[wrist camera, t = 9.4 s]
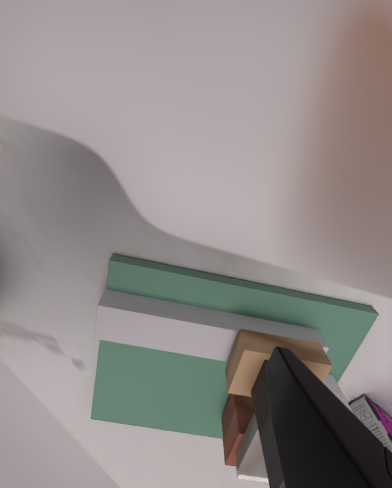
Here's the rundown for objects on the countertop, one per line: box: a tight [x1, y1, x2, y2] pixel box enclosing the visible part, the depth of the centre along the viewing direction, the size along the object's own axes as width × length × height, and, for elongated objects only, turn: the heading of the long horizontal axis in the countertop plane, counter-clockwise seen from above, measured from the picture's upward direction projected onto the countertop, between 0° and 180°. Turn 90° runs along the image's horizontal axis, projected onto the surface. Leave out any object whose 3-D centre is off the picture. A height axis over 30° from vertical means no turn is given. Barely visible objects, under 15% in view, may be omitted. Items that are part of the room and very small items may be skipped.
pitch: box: [91, 254, 379, 483], centre depth 23 cm, size 21×18×4 cm
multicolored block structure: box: [221, 329, 333, 488], centre depth 20 cm, size 6×12×10 cm, turn 167°
